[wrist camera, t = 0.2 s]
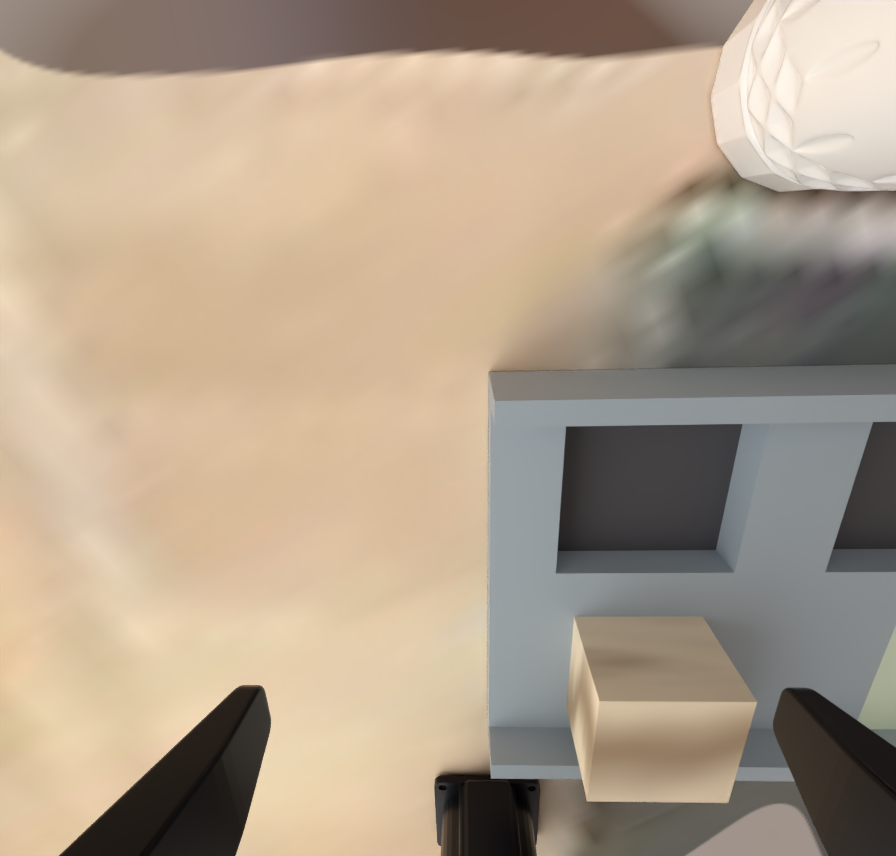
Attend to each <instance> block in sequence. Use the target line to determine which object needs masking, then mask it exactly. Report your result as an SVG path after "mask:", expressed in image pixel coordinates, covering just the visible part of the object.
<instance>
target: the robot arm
mask: <svg viewBox="0 0 896 856" xmlns="http://www.w3.org/2000/svg"><path fill="white" fill-rule="evenodd" d="M270 727H271V717H270V712H269V708H268V703H267V698H266V694H265V690H264V688H263V687H262V686H260V685H242V686H239V687H238V688H236V689H235V690H234V691H233V692H232V693H230V694H229V695H228V696H227V697H226V698H225V699H224V700H223V701H222V702H221V703H220V704H219V705H218V706H217V707H216V708H215V709H214V710H212V711H211V712H210V713H209V714H208V715H207V716H206V717H205V718H204V719H203V720H202V721H201V722H200V723H199V724H198V725H197V726H196V727H195V728H193V729H192V730H191V731H190V732H189V733H188V734H187V735H186V736H185V737H184V738H183V739H182V740H181V741H180V742H179V743H178V744H177V745H175V746H174V747H173V748H172V749H171V750H170V751H169V752H168V753H167V754H166V755H165V756H164V757H163V758H162V759H161V760H160V761H159V762H158V763H156V764H155V765H154V766H153V767H152V768H151V769H150V770H149V771H148V772H147V773H146V774H145V775H144V776H143V777H142V778H141V779H140V780H138V781H137V782H136V783H135V784H134V785H133V786H132V787H131V788H130V789H129V790H128V791H127V792H126V793H125V794H124V795H123V796H122V797H121V798H119V799H118V800H117V801H116V802H115V803H114V804H113V805H112V806H111V807H110V808H109V809H108V810H107V811H106V812H105V813H104V814H103V815H101V816H100V817H99V818H98V819H97V820H96V821H95V822H94V823H93V824H92V825H91V826H90V827H89V828H88V829H87V830H86V831H85V832H83V833H82V834H81V835H80V836H79V837H78V838H77V839H76V840H75V841H74V842H73V843H72V844H71V845H70V846H69V847H68V848H67V849H66V850H64V851H63V852H62V853H61V854H60V855H59V856H235V855H236V852H237V849H238V846H239V843H240V840H241V837H242V834H243V831H244V828H245V824H246V821H247V817H248V813H249V809H250V806H251V802H252V798H253V794H254V790H255V787H256V783H257V779H258V775H259V771H260V768H261V764H262V760H263V756H264V752H265V749H266V745H267V741H268V737H269V733H270ZM773 730H774V734H775V737H776V740H777V742H778V744H779V746H780V749H781V751H782V753H783V756H784V758H785V760H786V762H787V765H788V767H789V769H790V772H791V774H792V776H793V778H794V781H795V783H796V785H797V787H798V790H799V792H800V794H801V797H802V799H803V801H804V803H805V806H806V808H807V810H808V813H809V815H810V817H811V819H812V822H813V824H814V826H815V828H816V830H817V832H818V835H819V837H820V839H821V841H822V843H823V845H824V847H825V849H826V851H827V853H828V855H829V856H896V747H895V746H893V745H892V744H890V743H889V742H887V741H886V740H885V739H883V738H882V737H880V736H879V735H878V734H876V733H875V732H873V731H872V730H870V729H869V728H868V727H866V726H865V725H863V724H862V723H860V722H859V721H858V720H856V719H855V718H853V717H852V716H850V715H849V714H848V713H846V712H845V711H843V710H842V709H841V708H839V707H838V706H836V705H835V704H833V703H832V702H831V701H829V700H828V699H826V698H825V697H823V696H822V695H821V694H819V693H818V692H816V691H814V690H813V689H810V688H804V687H788V688H785V689H784V690H783V691H782V692H781V695H780V698H779V702H778V705H777V708H776V712H775V715H774V718H773ZM434 788H435V806H436V824H437V842H438V845H440V846H441V856H537V854H536V842H537V827H538V812H539V797H540V785H539V780H538V779H491V776H439V777H437V778H436V779H435V787H434Z"/></svg>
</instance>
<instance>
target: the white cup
mask: <svg viewBox="0 0 896 856" xmlns="http://www.w3.org/2000/svg"><path fill="white" fill-rule="evenodd" d="M710 99H711V107H712V114H713V120H714V127H715V134H716V141H717V145H718V147H719V148H720V149H721V151H722V152H723V153H724V155H725V156H726V158H727V159H728V160H729V162H730V163H731V164H732V166H733V167H734V168H735V170H736V171H737V172H738V174H739V175H740V176H741V177H742V178H744V179H746V180H749V181H752V182H754V183H757V184H759V185H762V186H764V187H767V188H769V189H772V190H774V191H777V192H787V191H799V190H811V189H828V190H837V191H879V190H885V191H896V0H754V1H753V3H752V4H751V6H750V7H749V9H748V10H747V12H746V13H745V15H744V16H743V17H742V19H741V20H740V22H739V23H738V25H737V26H736V28H735V30H734V31H733V32H732V34H731V35H730V37H729V39H728V40H727V41H726V43H725V44H724V46H723V50H722V54H721V58H720V62H719V66H718V70H717V74H716V78H715V82H714V86H713V90H712V94H711V98H710Z"/></svg>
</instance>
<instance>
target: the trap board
mask: <svg viewBox="0 0 896 856" xmlns="http://www.w3.org/2000/svg"><path fill="white" fill-rule="evenodd" d="M644 616H703V618H704V619H705V621H706V622H707V624H708V626H709V627H710V629H711V630H712V632H713V633H714V635H715V637H716V638H717V640H718V641H719V643H720V644H721V646H722V648H723V649H724V651H725V652H726V654H727V655H728V657H729V659H730V660H731V662H732V663H733V665H734V666H735V668H736V669H737V671H738V673H739V674H740V676H741V677H742V679H743V680H744V682H745V684H746V685H747V687H748V688H749V690H750V691H751V693H752V695H753V696H754V698H755V699H756V701H757V705H756V708H755V712H754V715H753V719H752V722H751V725H750V729H749V732H748V736H747V739H746V743H745V746H744V750H743V753H742V757H741V760H740V763H739V767H738V770H737V774H736V777H735V781H794V778H793V776H792V774H791V772H790V769H789V767H788V765H787V762H786V760H785V758H784V756H783V753H782V751H781V749H780V746H779V744H778V742H777V740H776V737H775V734H774V730H773V718H774V715H775V712H776V708H777V705H778V702H779V698H780V695H781V692H782V691H783V690H784V689H785V688H788V687H804V688H810V689H813V690H814V691H816V692H818V693H819V694H821V695H822V696H823V697H825V698H826V699H828V700H829V701H831V702H832V703H833V704H835V705H836V706H838V707H839V708H841V709H842V710H843V711H845V712H846V713H848V714H849V715H850V716H852V717H853V718H855V719H856V720H858V721H859V722H860V723H862V724H863V725H865V726H866V727H868V728H869V729H870V730H872V731H873V732H875V733H876V734H878V735H879V736H880V737H882V738H883V739H885V740H886V741H887V742H889V743H890V744H892V745H893V746H895V747H896V364H877V365H824V366H770V367H716V368H663V369H609V370H555V371H502V372H489V416H488V607H487V716H488V734H489V752H490V770H491V779H582V776H581V772H580V767H579V763H578V758H577V754H576V749H575V745H574V740H573V736H572V732H571V727H570V723H569V718H568V714H567V709H566V703H567V691H568V680H569V669H570V658H571V646H572V635H573V624H574V617H644Z"/></svg>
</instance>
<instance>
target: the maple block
mask: <svg viewBox="0 0 896 856" xmlns="http://www.w3.org/2000/svg"><path fill="white" fill-rule="evenodd" d="M756 705H757V701H756V699H755V698H754V696H753V695H752V693H751V691H750V690H749V688H748V687H747V685H746V684H745V682H744V680H743V679H742V677H741V676H740V674H739V673H738V671H737V669H736V668H735V666H734V665H733V663H732V662H731V660H730V659H729V657H728V655H727V654H726V652H725V651H724V649H723V648H722V646H721V644H720V643H719V641H718V640H717V638H716V637H715V635H714V633H713V632H712V630H711V629H710V627H709V626H708V624H707V622H706V621H705V619H704V618H703V616H644V617H574V624H573V635H572V646H571V658H570V669H569V680H568V691H567V703H566V709H567V714H568V718H569V723H570V727H571V732H572V736H573V740H574V745H575V749H576V754H577V758H578V763H579V767H580V772H581V776H582V781H583V785H584V790H585V794H586V799H587V801H600V802H693V803H728V801H729V798H730V794H731V791H732V788H733V784H734V781H735V777H736V774H737V770H738V767H739V763H740V760H741V757H742V753H743V750H744V746H745V743H746V739H747V736H748V732H749V729H750V725H751V722H752V719H753V715H754V712H755V708H756Z"/></svg>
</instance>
